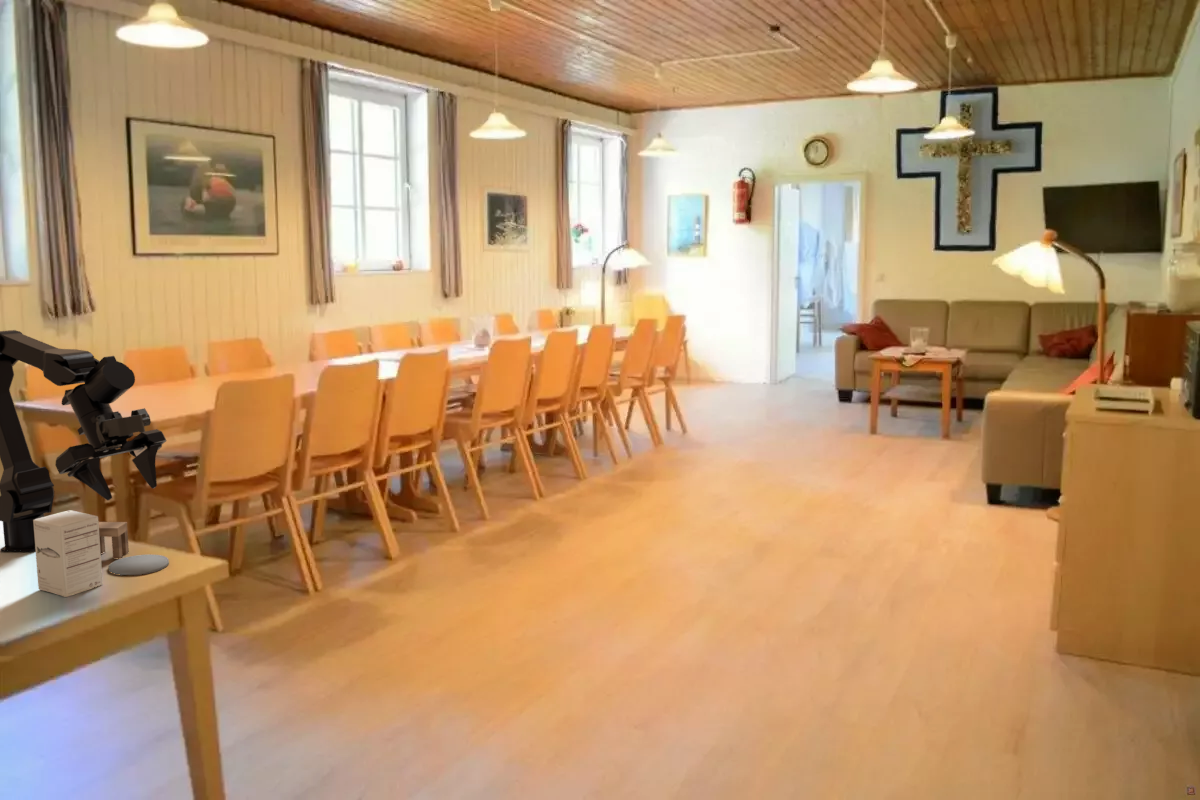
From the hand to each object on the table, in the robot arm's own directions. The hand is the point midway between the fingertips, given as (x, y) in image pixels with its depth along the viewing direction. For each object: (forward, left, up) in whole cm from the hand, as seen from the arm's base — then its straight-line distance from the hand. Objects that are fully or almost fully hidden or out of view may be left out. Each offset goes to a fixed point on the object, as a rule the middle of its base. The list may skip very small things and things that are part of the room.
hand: (132, 493), depth 177 cm
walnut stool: (-9, +10, -15) cm, 20 cm away
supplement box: (-8, -7, -15) cm, 19 cm away
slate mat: (-1, +4, -15) cm, 15 cm away
